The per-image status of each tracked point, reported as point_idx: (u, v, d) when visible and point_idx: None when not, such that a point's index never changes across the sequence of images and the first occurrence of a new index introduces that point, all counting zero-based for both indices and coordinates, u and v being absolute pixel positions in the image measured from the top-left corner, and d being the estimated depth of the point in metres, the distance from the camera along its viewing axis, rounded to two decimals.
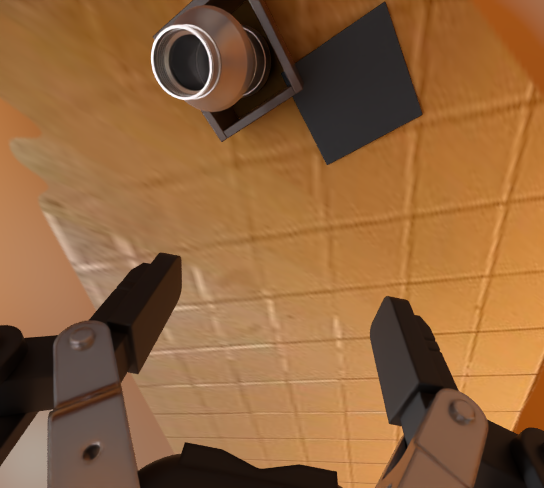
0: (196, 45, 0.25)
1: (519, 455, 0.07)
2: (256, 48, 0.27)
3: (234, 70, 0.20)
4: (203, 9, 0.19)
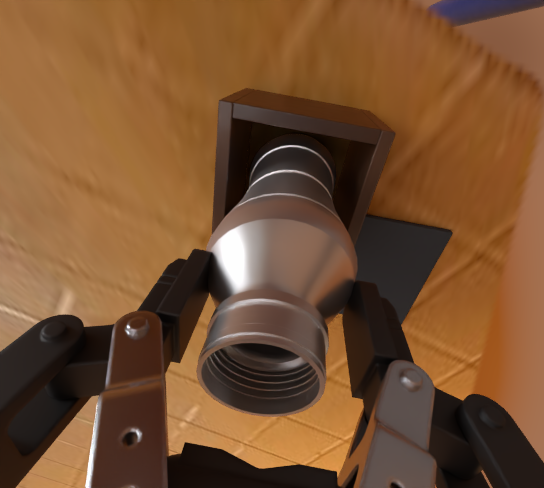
0: (270, 180, 0.15)
1: (464, 423, 0.07)
2: None
3: None
4: (335, 245, 0.11)
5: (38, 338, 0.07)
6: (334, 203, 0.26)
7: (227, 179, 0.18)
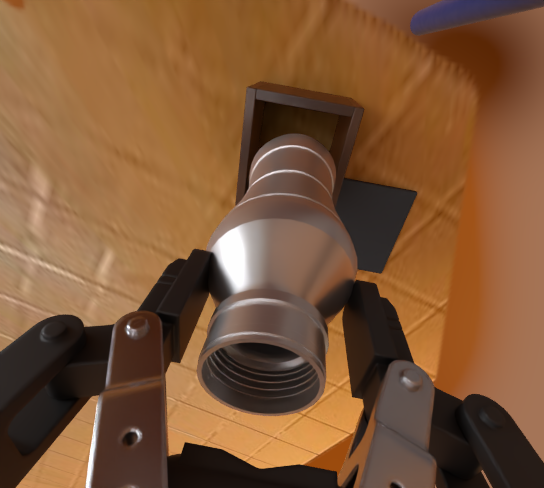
0: (270, 180, 0.15)
1: (464, 423, 0.07)
2: None
3: None
4: (335, 245, 0.11)
5: (38, 338, 0.07)
6: None
7: (250, 143, 0.26)
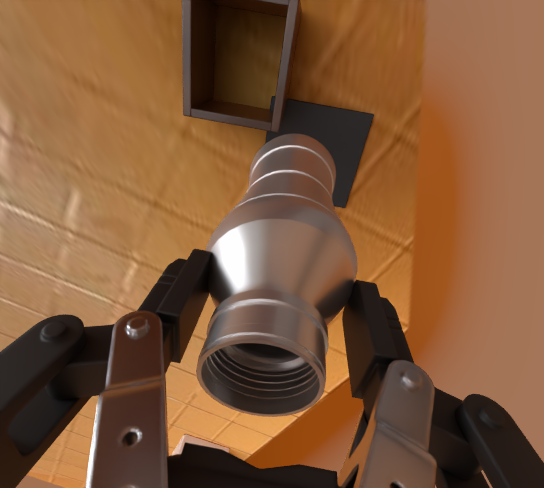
0: (270, 180, 0.15)
1: (464, 423, 0.07)
2: None
3: None
4: (335, 246, 0.11)
5: (38, 338, 0.07)
6: None
7: (191, 41, 0.26)
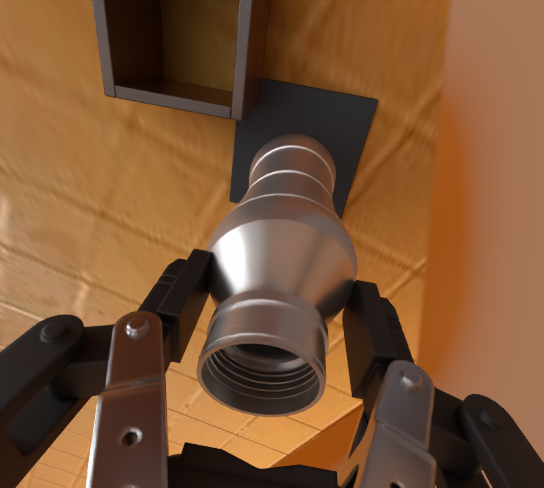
0: (270, 180, 0.15)
1: (464, 423, 0.07)
2: None
3: None
4: (335, 246, 0.11)
5: (38, 338, 0.07)
6: None
7: None
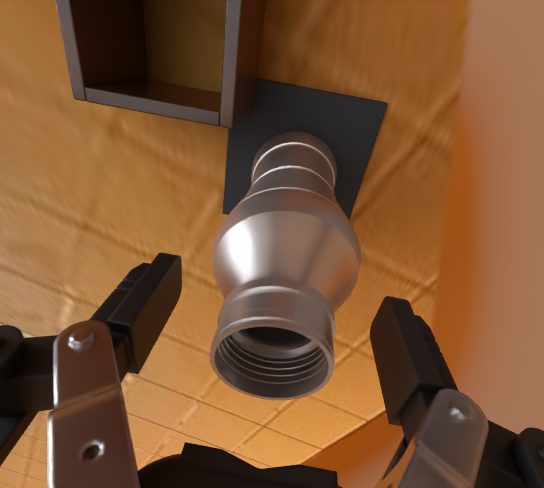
0: (274, 175, 0.16)
1: (519, 455, 0.07)
2: None
3: None
4: (340, 237, 0.11)
5: None
6: None
7: None
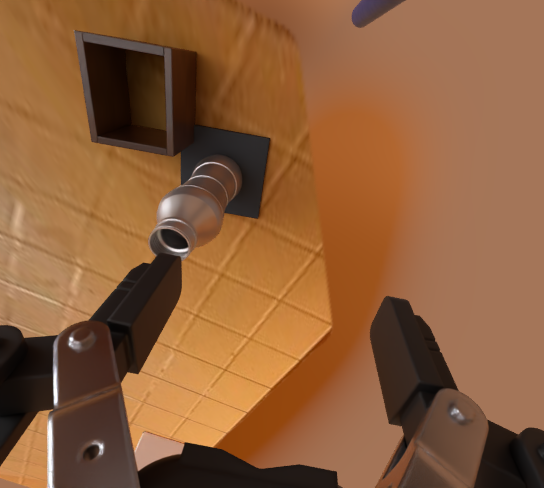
0: (191, 180, 0.32)
1: (519, 455, 0.07)
2: (229, 198, 0.36)
3: (200, 244, 0.29)
4: (205, 204, 0.28)
5: None
6: None
7: (89, 82, 0.31)
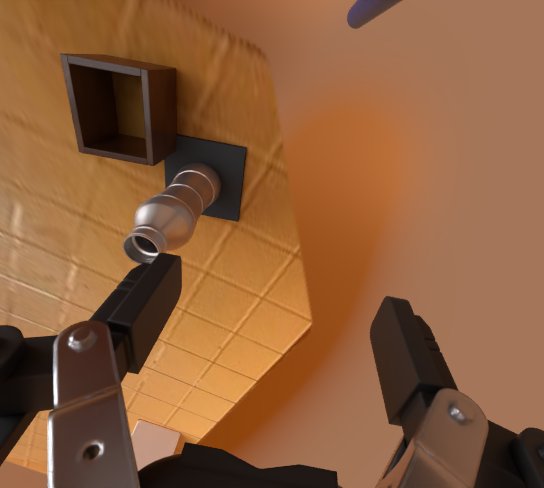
0: (168, 188, 0.36)
1: (519, 455, 0.07)
2: (206, 204, 0.39)
3: (173, 248, 0.32)
4: (175, 213, 0.31)
5: None
6: None
7: (75, 99, 0.34)
